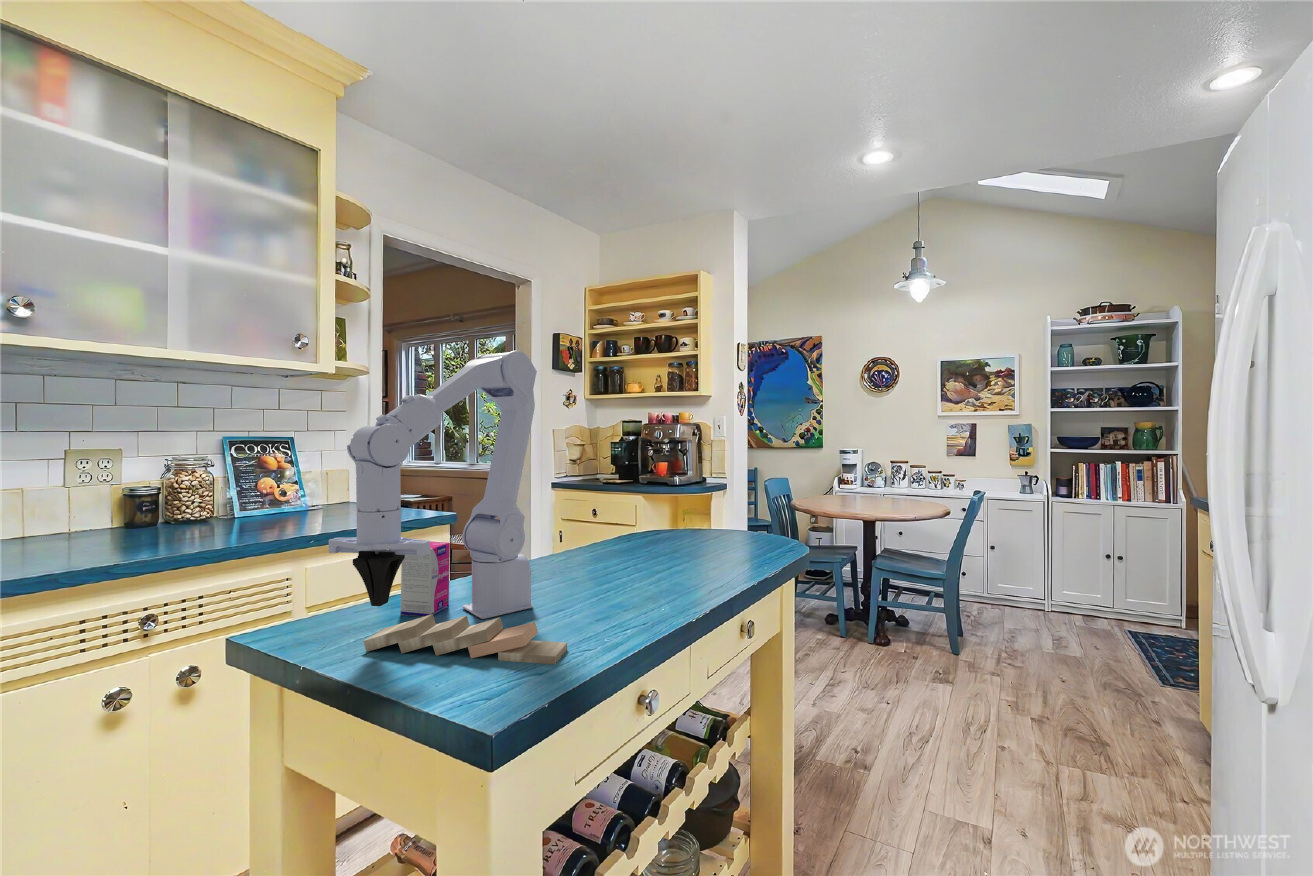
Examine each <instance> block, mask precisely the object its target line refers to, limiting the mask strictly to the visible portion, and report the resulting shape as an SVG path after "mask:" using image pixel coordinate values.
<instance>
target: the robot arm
mask: <svg viewBox="0 0 1313 876" xmlns="http://www.w3.org/2000/svg"><path fill="white" fill-rule="evenodd" d="M537 373H538V371H537V369H536V368H535V366H534V364H533V362H532V361H531V359H530V357H529V356H528V355H527V354H526V353H525V352H524V351H521V350H512V351H510V352H502V353H501V352H499V353H491V354H488V353H485V354H484V353H482V354H480V355H477V357H475V358H474V359H471V360H469V361H467V362H466V364H465V365H464V366H463V367H461V369H459V370H458V371H457V372H456V373H454V374H453V375H452V376H451V377H449V378H448V379H447V380H446V381H444V382H443V383H442V384H440V385H439V386H438V387H436V388H435V389H434V390H433V391H431V393H429V394H428V395H424V394H420V393H419V394H418V393H417V394H415V395H405V396H404V397H403V398H401V400H400V401H401V404H400V405H398V406H397V407H395V408H394V409H393V410H391V411H390V412H388V413H386V414H379V416H377V417H376V419H375V420H376V422H375V425H366V426H362V427H360V428H359V429H357V430H356V431H355V432H354V433H353V434H352V438H351V439H350V443H349V444H347V445H346V450H347V454H348V456H349V458H350V459H351V460H352V461H353V462H354V463H355V476H356V478H355V479H356V480H355V486H356V488H355V489H356V490H355V491H356V493H355V496H356V499H355V500H356V536H355V537H353V536H352V537H334V538H332V539H331V538H330V539H328V554H337V553H345V554H347V553H348V554H349V553H351V554H357V557H355V558H353V559H352V565H353V567H354V568H355V570H356V571H357V572H358V574H359V575H360V578H361V579H362V581H363V583H364V586H365V589H366V591H367V595H368V598H369V602H370V605H371V607H382V606H384V605H385V604H388V603H389V599H390V594H391V592H392V587H393V584H394V580H395V579H396V578H395V577H396V575H397V573H398V570H399V569H400V568H401V564H402V561H403V560H404V558H405V555H416V556H419V557H423V556H426V555H428V554H430V541H431V540H430V539H429V540H428V539H427V540H426V539H416V538H410V537H409V538H408V537H402V507H401V505H402V503H401V500H402V499H401V497H402V496H401V493H402V492H401V490H402V489H401V488H402V487H401V485H402V484H401V463H402V462H404V461H406V459H407V457H408V455H409V452H410V449H411V447H413V446H414V445H415V444H417V443H418V442H419V441H420V440H422V439H424V438H425V436H427V435H428V434H430V433H431V432H433V430H435V429H436V428H437V427H439V426H440V425H441V423H442V420H443V419H442V418H443V413H444V412H446V411H447V410H449V409H451V408H452V407H453V406H455V405H456V404H458V403H459V402H461V401H462V400H463V399H465V398H466V397H468V396H469V395H472V394H473V393H474V392H475V391H477V390H478V389H480V390H481V391H482V392H483V393H484V394H485V395H486V396H488V397H489V399H491V400H492V401H493V402H494V403H496V405H497V406H498V408H499V409H500V411H501V412H500V413H501V414H500V419H499V421H498V422H499V423H498V427H497V433H496V437H495V443H494V447H493V452H492V457H491V460H490V466H489V471H488V475H487V476H488V477H487V479H486V480H487V481H486V486H485V490H484V495H483V498H482V499H481V501H480V502H478V503H477V504H476V505H475V506H474V507H473V508H472V510H471V514H470V517H469V519H468V520H467V522H466V524H465V526H464V528H463V531H462V537H461V538H462V542H463V546H464V547H465V549H467V550H468V551H469V557H471V603H467V604H463V605H462V609H463V610H465V611H467V612H469V613H471V614H472V615H474V616H475V617H478V618H479V619H482V620H484V619H489V618H493V617H498V616H503V615H506V614H511V613H515V612H519V611H523V610H529V609H532V608H534V604H533V603H532V570H531V569H532V568H531V565H530V561H529V559H528V557H527V556H526V555H525V554H523V553H520V552H521V551H522V549H523V548H524V544H525V541H526V535H525V529H524V528H525V527H524V526H525V518H526V517H525V514H524V513H523V511H522V510H521V509H520V508H519V507H518V504H517V500H518V495H519V489H520V485H521V480H522V474H523V469H524V464H525V460H526V454H527V449H528V444H529V439H530V435H531V428H532V425H533V419H534V414H535V409H536V408H535V407H536V406H535V405H536V403H535V401H536V400H535V394H534V387H535V382H536V377H537ZM498 518H499V519H498Z"/></svg>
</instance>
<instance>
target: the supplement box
mask: <svg viewBox="0 0 1313 876" xmlns="http://www.w3.org/2000/svg"><path fill="white" fill-rule="evenodd" d="M450 552H451V543H450V542H446V541H445V542H444V541H431V540H430V554H428V555H426V556H423V557H419V556H416V555H405V558H404V560H403V561H402V563H401V565H400V570H401V571H400V575H401V577H400V612H399V613H400V615H401V616H408V615H409V617H420V618H421V617H424V616H428V615H431V614H433V616H434V615H436V614H438V613H439V612H441V611H443V610H446V609H448V608H449V606H450V604H449V603H450V566H451V565H450ZM447 607H448V608H447Z"/></svg>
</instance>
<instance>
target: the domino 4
mask: <svg viewBox="0 0 1313 876" xmlns="http://www.w3.org/2000/svg"><path fill="white" fill-rule="evenodd" d="M537 626H538V625H537V623H536V621H533V622H528V623H525V624H521V625H520V624H519V625H516V626H511V627H507V628H503V629H502V630H501V631H499V632H498V633H497V634H496V635H495V636H494V637H493V638H491V639H490V640H489V641H486V642H483V643H479V644H476V645H472V646H469V647H467V649H468V652H469V657H470V659H474V658H478V657H484V656H487V655H492V654H496V653H497V654H498V652H501V651H505V650H509V649H514V648H518V647H522V646H526V645H527V644H528V643H529V642H530V641H531V640H533V638H535V637H536V636H537V634H538V633H539V632H538V631H539V630H538V627H537Z"/></svg>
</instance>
